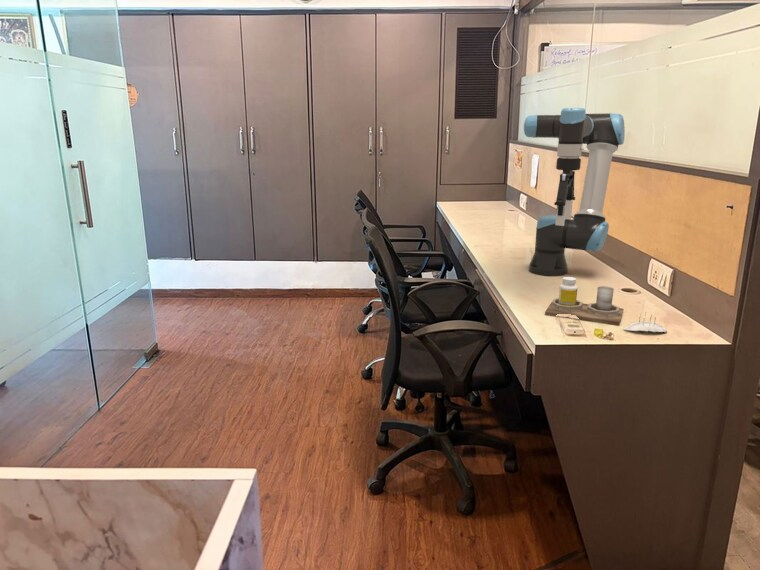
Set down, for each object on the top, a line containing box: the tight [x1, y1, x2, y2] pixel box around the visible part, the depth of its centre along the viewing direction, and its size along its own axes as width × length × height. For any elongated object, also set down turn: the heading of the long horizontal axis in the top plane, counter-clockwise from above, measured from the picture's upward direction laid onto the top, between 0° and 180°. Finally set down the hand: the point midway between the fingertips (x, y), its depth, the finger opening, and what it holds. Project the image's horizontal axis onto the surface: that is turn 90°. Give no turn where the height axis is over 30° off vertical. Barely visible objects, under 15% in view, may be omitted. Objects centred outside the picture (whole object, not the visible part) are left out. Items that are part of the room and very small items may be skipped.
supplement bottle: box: [558, 276, 578, 306], centre depth 180 cm, size 5×5×10 cm
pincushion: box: [623, 311, 668, 333], centre depth 164 cm, size 12×6×6 cm, turn 83°
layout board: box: [544, 285, 624, 327], centre depth 178 cm, size 14×22×9 cm, turn 63°
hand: (563, 222), depth 188 cm, fingers open, 13 cm apart
